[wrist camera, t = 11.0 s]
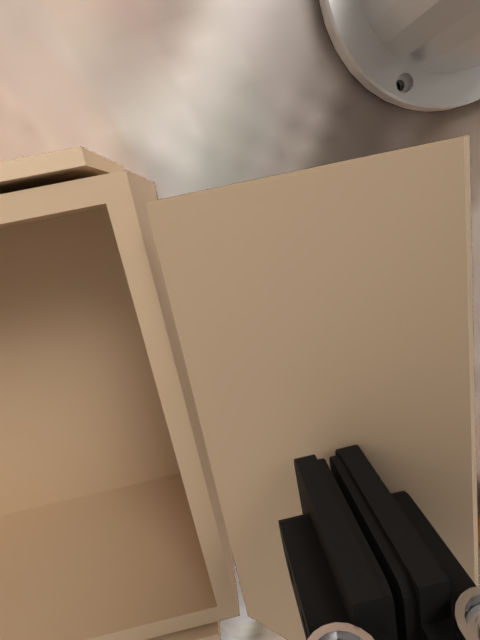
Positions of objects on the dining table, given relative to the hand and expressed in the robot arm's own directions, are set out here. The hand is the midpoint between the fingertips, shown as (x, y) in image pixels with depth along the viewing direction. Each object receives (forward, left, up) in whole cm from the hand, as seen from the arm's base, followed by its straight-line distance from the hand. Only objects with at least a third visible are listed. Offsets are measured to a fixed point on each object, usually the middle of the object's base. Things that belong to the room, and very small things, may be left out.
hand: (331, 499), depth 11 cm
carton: (+12, 0, -15) cm, 19 cm away
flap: (+3, 0, -4) cm, 5 cm away
